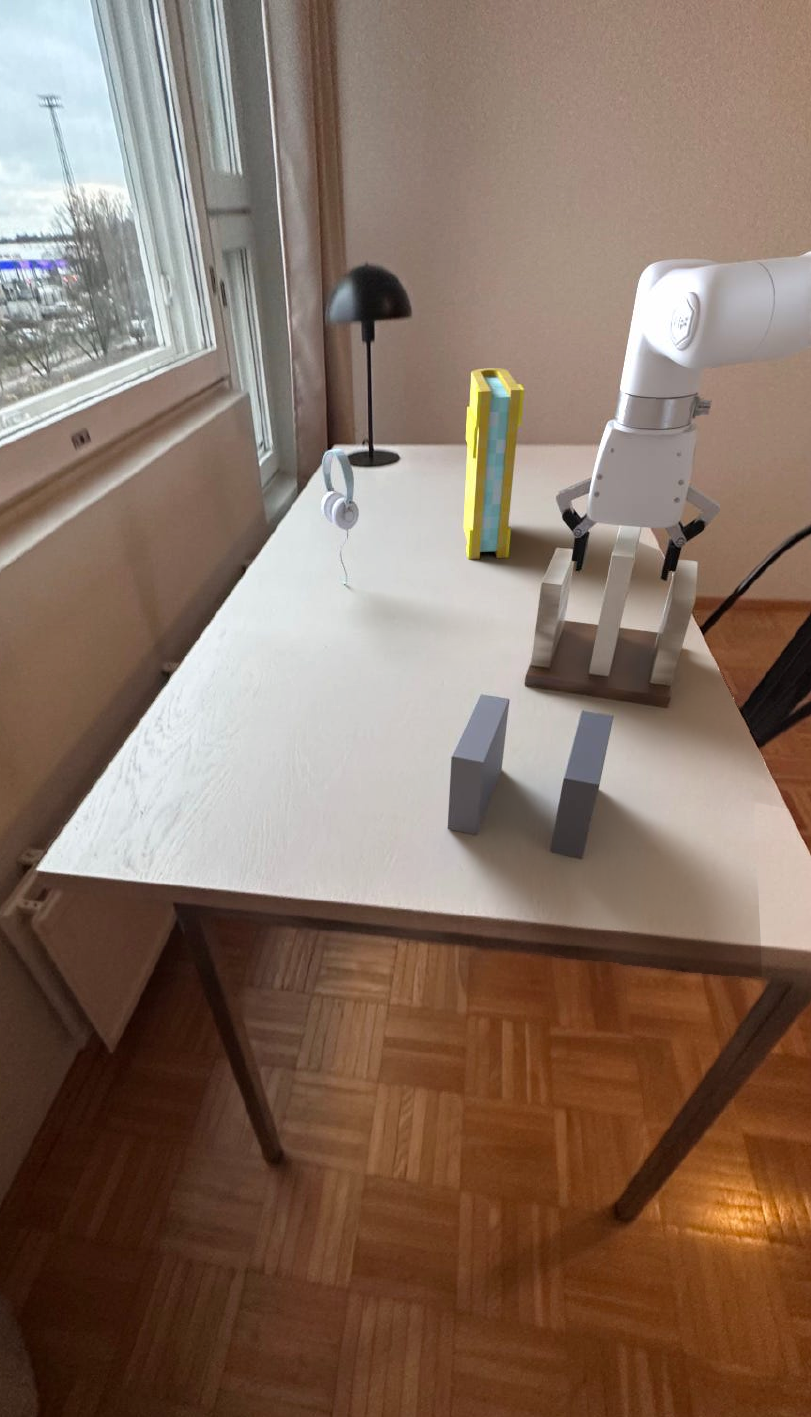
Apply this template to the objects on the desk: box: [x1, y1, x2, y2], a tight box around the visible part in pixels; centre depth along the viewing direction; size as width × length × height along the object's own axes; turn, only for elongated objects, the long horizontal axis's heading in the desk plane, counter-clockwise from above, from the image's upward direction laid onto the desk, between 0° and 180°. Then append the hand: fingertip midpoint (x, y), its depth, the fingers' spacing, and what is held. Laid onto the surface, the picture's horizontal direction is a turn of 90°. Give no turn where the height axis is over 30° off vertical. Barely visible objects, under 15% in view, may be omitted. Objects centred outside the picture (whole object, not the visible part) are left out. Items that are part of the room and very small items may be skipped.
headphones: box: [320, 448, 360, 585], centre depth 108 cm, size 8×4×20 cm, turn 27°
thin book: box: [589, 525, 643, 676], centre depth 86 cm, size 2×11×15 cm, turn 159°
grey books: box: [447, 693, 614, 860], centre depth 69 cm, size 13×11×9 cm
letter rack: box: [524, 547, 699, 709], centre depth 88 cm, size 17×16×12 cm
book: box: [462, 367, 525, 560], centre depth 118 cm, size 17×7×25 cm, turn 179°
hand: (621, 571), depth 84 cm, fingers open, 9 cm apart
